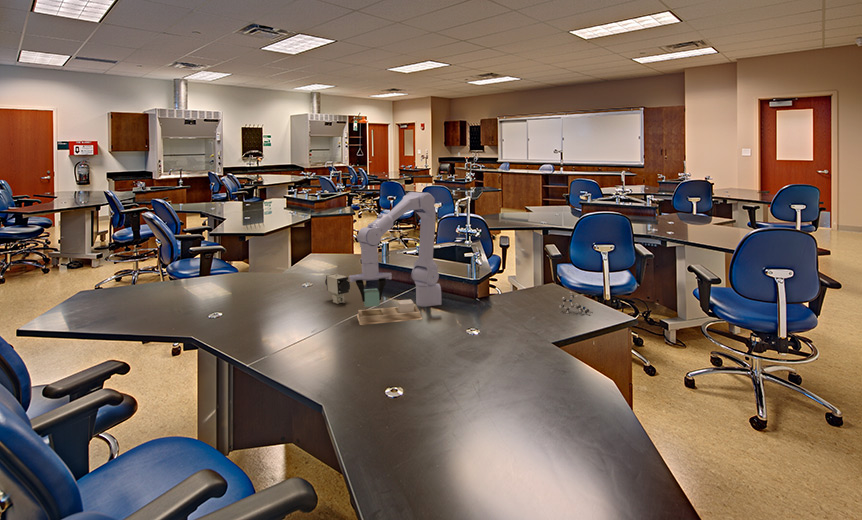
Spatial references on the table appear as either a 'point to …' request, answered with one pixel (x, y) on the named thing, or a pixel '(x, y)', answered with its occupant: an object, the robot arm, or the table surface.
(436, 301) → the robot arm
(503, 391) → the table surface
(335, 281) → the pneumatic valve
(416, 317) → the assembly board
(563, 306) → the molecule model
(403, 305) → the cream block
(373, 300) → the teal block
